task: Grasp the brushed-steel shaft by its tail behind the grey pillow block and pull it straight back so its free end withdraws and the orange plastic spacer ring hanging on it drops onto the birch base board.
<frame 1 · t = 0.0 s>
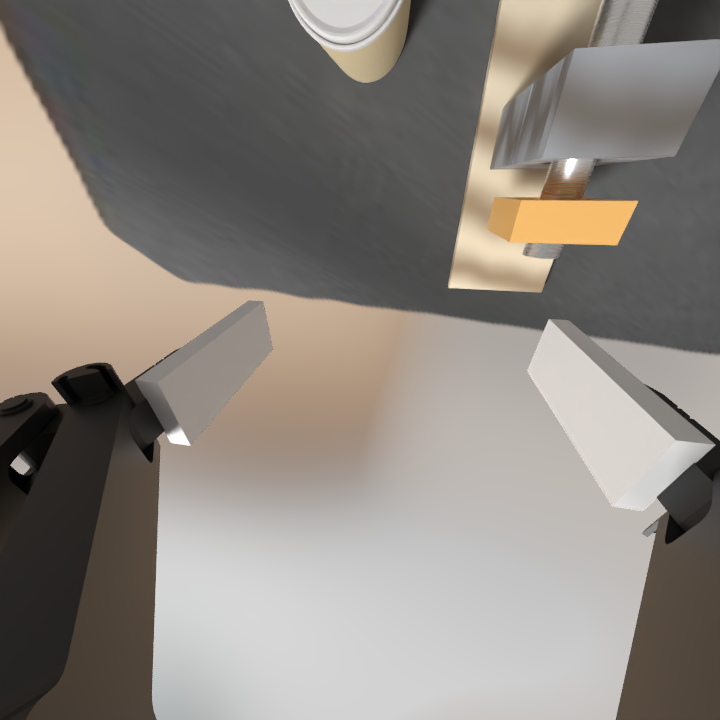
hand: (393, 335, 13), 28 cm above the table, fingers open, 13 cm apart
bearing fixture: (531, 141, 29), on the table
coffee cup: (368, 29, 26), on the table
shaft: (618, 32, 17), point 11 cm above the table, slide at 0.0 cm, touching spacer
spacer: (531, 214, 27), point 6 cm above the table, touching shaft
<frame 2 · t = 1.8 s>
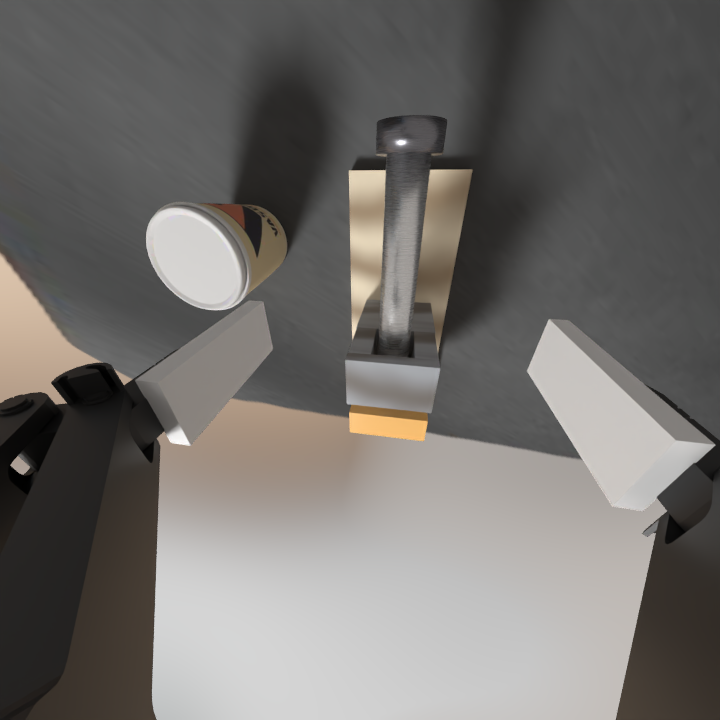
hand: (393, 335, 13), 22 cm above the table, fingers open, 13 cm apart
bearing fixture: (397, 315, 36), on the table
coffee cup: (259, 239, 34), on the table
shaft: (395, 321, 25), point 11 cm above the table, slide at 0.0 cm, touching spacer
spacer: (391, 380, 35), point 6 cm above the table, touching shaft
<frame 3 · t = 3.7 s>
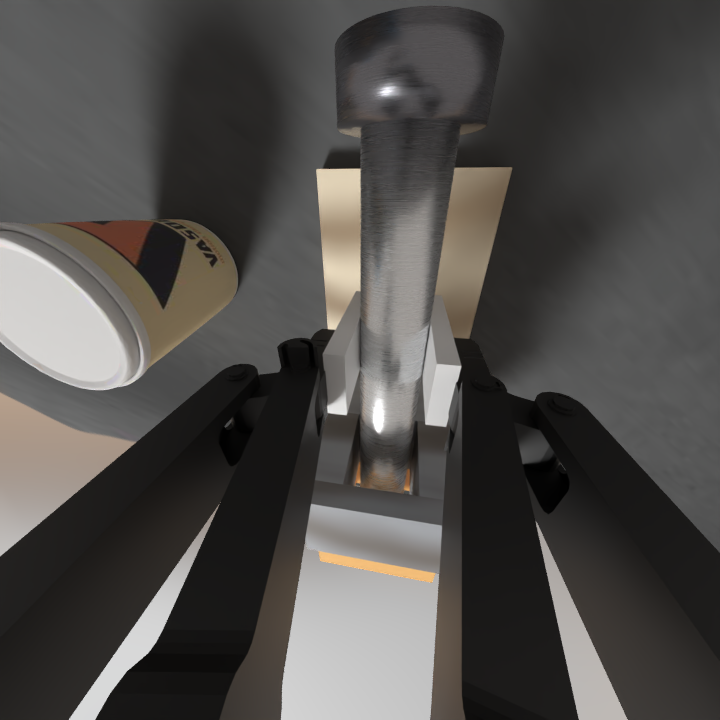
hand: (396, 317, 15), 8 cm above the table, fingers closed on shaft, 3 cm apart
bearing fixture: (393, 368, 26), on the table
coffee cup: (199, 266, 24), on the table
shaft: (387, 417, 15), point 11 cm above the table, slide at 0.0 cm, touching gripper, spacer
spacer: (384, 462, 25), point 6 cm above the table, touching shaft
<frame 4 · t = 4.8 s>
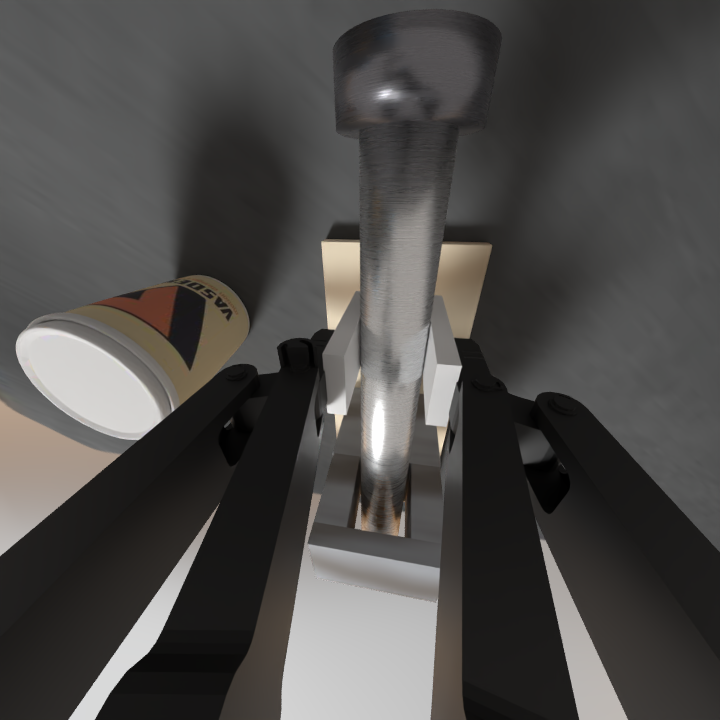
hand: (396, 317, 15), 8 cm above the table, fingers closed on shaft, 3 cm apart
bearing fixture: (391, 401, 29), on the table
coffee cup: (214, 313, 26), on the table
shaft: (387, 417, 15), point 11 cm above the table, slide at 4.3 cm, touching gripper, spacer
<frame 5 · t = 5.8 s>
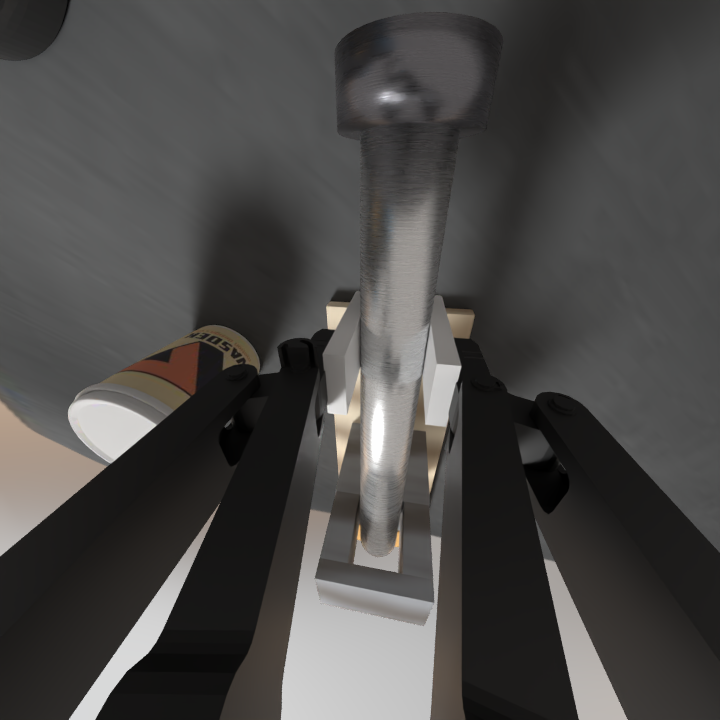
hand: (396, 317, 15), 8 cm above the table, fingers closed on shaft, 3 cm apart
bearing fixture: (387, 434, 31), on the table
coffee cup: (227, 355, 29), on the table
shaft: (387, 418, 15), point 11 cm above the table, slide at 9.3 cm, touching gripper
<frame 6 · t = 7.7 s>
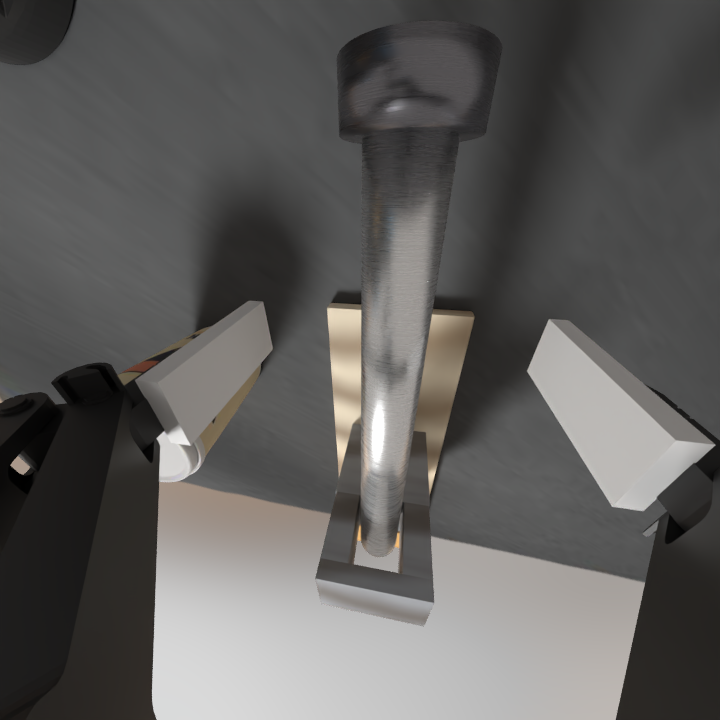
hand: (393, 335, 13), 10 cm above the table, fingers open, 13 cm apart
bearing fixture: (388, 435, 31), on the table
coffee cup: (228, 356, 29), on the table
shaft: (387, 418, 15), point 11 cm above the table, slide at 9.4 cm
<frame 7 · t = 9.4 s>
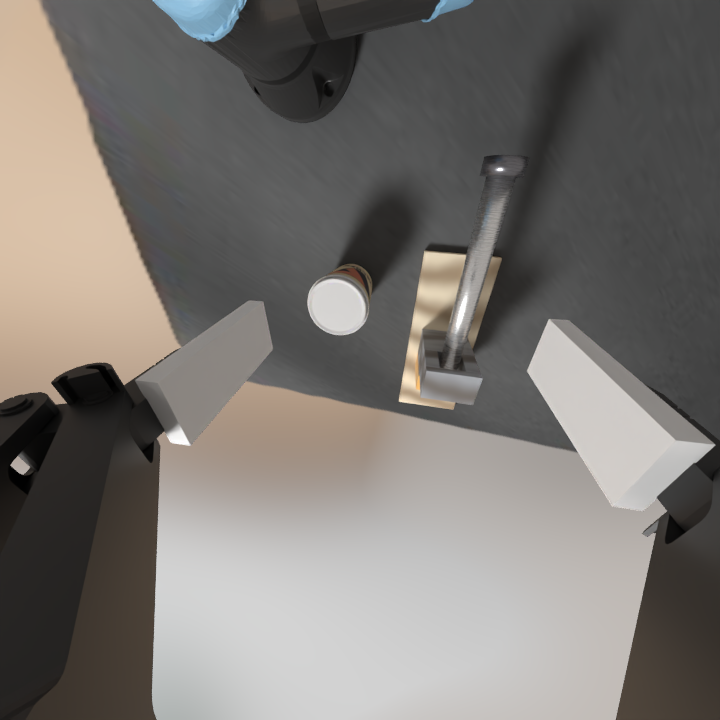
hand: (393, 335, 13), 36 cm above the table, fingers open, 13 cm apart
bearing fixture: (440, 340, 52), on the table
coffee cup: (352, 284, 49), on the table
shaft: (470, 287, 35), point 11 cm above the table, slide at 9.4 cm
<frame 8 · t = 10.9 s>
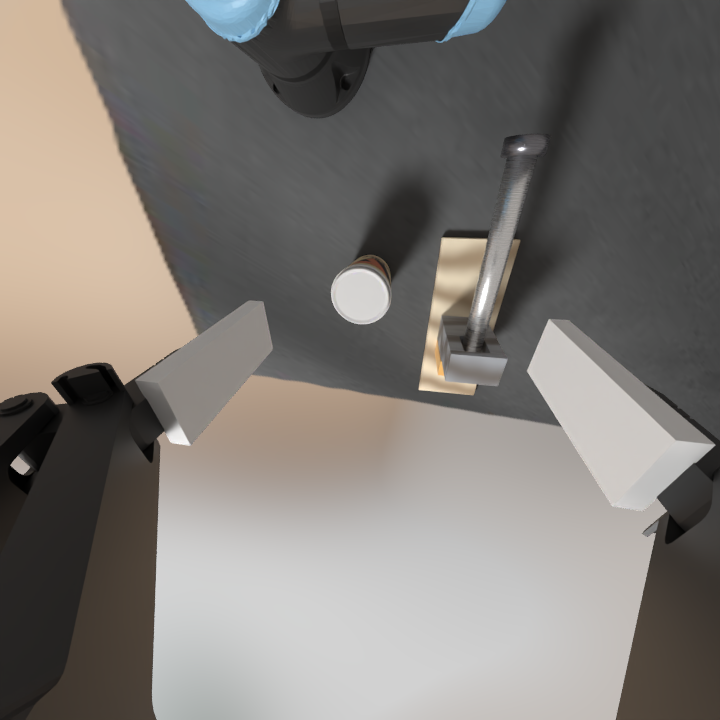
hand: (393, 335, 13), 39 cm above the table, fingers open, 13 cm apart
bearing fixture: (459, 326, 53), on the table
coffee cup: (370, 275, 50), on the table
shaft: (492, 269, 36), point 11 cm above the table, slide at 9.4 cm
spacer: (456, 347, 54), point 1 cm above the table, touching bearing fixture
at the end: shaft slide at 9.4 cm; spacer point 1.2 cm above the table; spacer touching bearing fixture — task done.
